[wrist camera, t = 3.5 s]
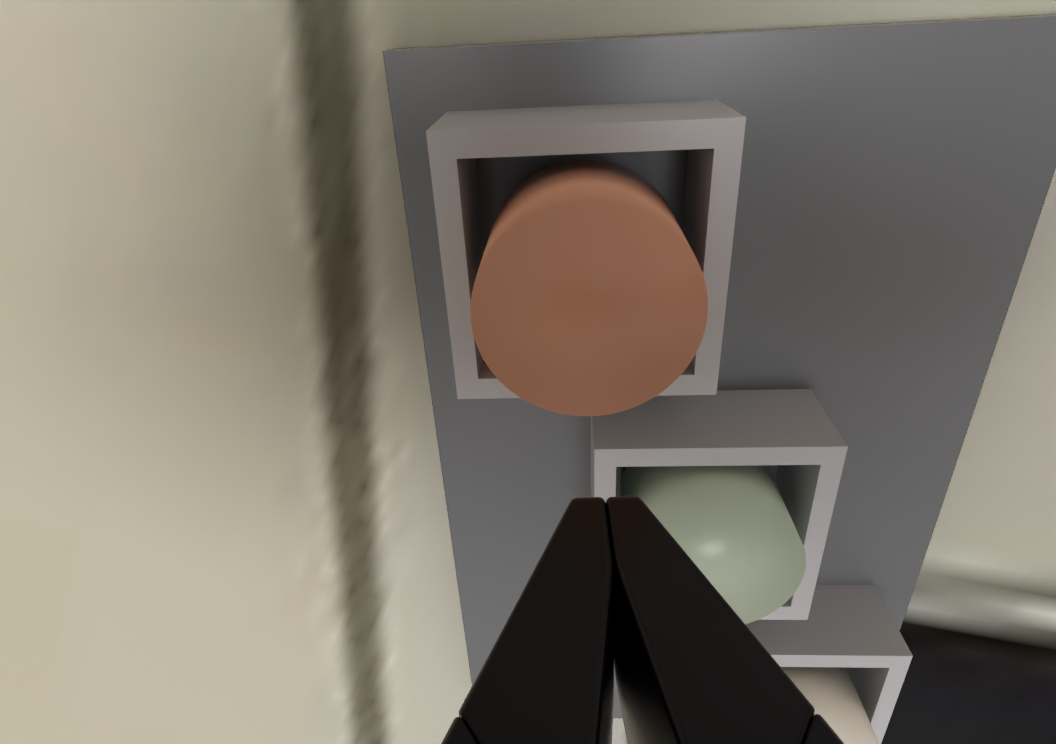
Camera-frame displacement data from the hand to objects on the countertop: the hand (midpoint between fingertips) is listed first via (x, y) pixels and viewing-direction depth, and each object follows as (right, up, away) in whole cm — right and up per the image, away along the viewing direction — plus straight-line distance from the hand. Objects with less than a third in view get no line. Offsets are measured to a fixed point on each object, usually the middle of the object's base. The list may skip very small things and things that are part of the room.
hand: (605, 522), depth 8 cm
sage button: (+4, -1, +9) cm, 10 cm away
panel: (+4, -1, +11) cm, 11 cm away
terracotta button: (0, +4, +5) cm, 7 cm away
